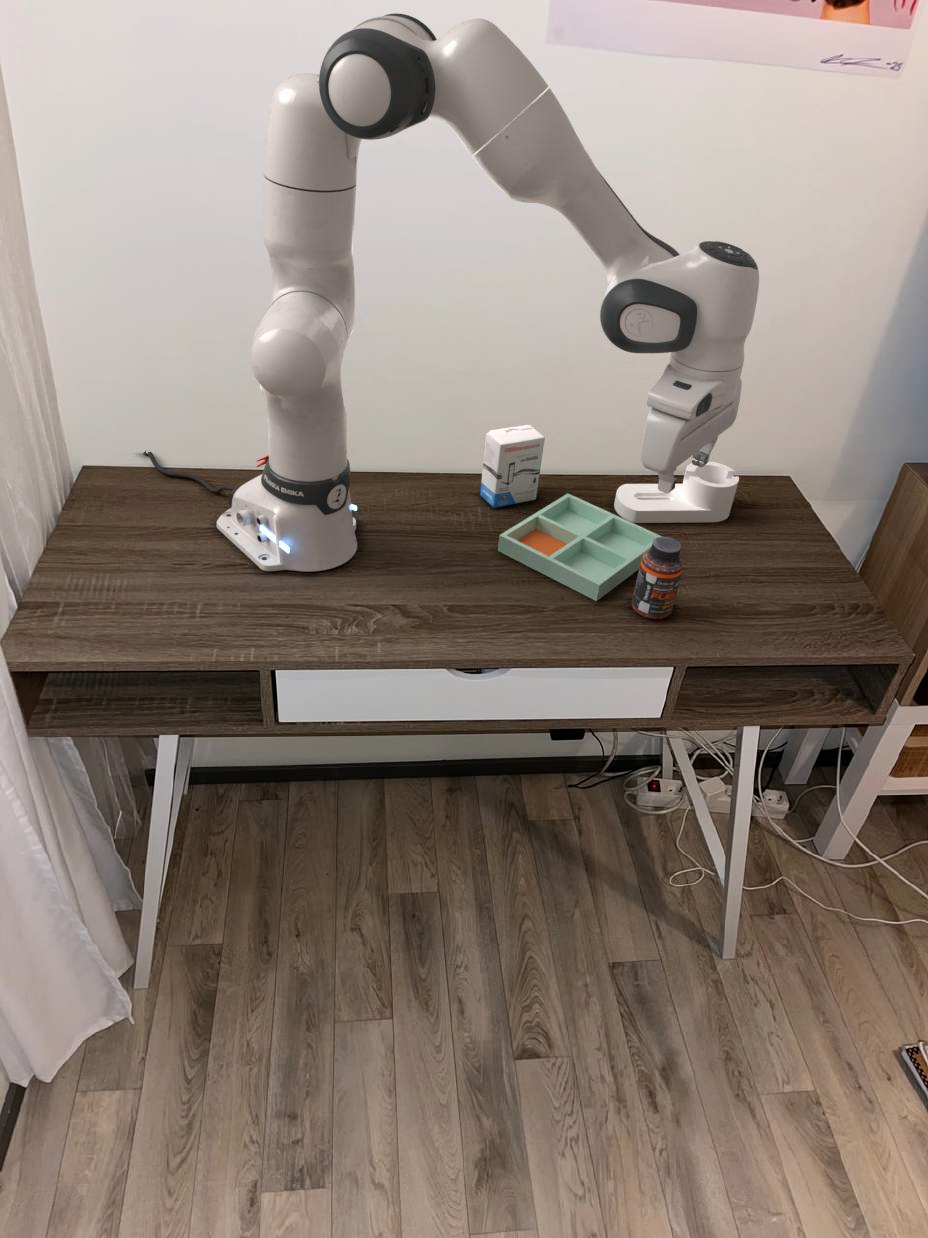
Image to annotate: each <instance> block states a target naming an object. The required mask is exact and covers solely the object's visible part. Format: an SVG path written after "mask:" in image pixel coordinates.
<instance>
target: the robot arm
mask: <svg viewBox="0 0 928 1238" xmlns="http://www.w3.org/2000/svg"><path fill="white" fill-rule="evenodd" d="M429 117H431V118H435V119H438V120H439V121H441V122H443V123H444V124H445V125H446V126H447V127H449V129H451V131H452V132H453V133H454V135H455V136H456V137H457V139H459V141H460V142H461V143H462V145H463V146H464V148H465V149H466V151H467V152H468V154H470V156H471V157H472V159H473V160H474V161H475V163H476V164H477V165H478V166H479V168H480V169H481V170H482V172H483V173H484V175H486V177H487V178H489V180H490V181H491V182H492V183H493V184H494V185H495V186H496V187H497V188H498V189H499V190H500V191H502V192H503V194H505V195H506V196H507V197H508V198H510V199H511V200H513V201H516V202H520V203H526V204H539V205H544V206H547V207H549V208H551V209H554V210H555V211H557V212H559V213H560V214H561V215H562V216H563V217H565V219H566V220H567V222H569V223H570V224H571V226H572V227H573V228H574V230H575V231H576V232H577V233H578V235H579V236H580V237H581V238H582V240H583V241H584V242H585V243H586V245H587V247H589V249H590V250H591V251H592V252H593V254H594V255H595V256H596V258H598V260H599V261H600V263H601V264H602V267H603V270H604V273H605V276H606V282H607V286H606V289H605V292H604V295H603V298H602V303H601V305H600V311H599V313H600V314H599V317H600V318H599V320H600V326H601V329H602V331H603V333H604V335H605V336H606V338H607V340H609V342H610V343H611V344H612V345H613V346H615V347H616V348H618V349H620V350H622V351H625V352H627V353H632V354H668V353H670V357H669V363H667V364H666V366H665V368H664V371H663V372H662V374H661V375H660V377H659V378H658V380H657V381H656V382H655V383H654V384H653V385H652V387H651V388H650V389H649V391H648V393H647V396H646V405H647V406H648V407H650V408H651V409H650V410H649V412H648V414H647V417H646V420H645V424H644V429H643V434H642V443H641V453H640V461H641V464H642V466H643V467H644V468H645V469H648V470H650V471H652V472H654V473H657V476H658V483H657V484H658V490H659V491H661V492H664V493H666V494H668V493H670V492H671V491H672V490H673V489H674V488H675V484H677V481H678V480H677V479H678V477H677V478H676V477H675V472H676V471H677V468H678V467H679V466H680V465H682V464H683V463H684V462H685V461H687V460H688V459H690V458H691V457H692V459H691V463H692V464H693V465H695V466H698V467H703V466H704V465H706V464H707V463H708V461H710V456H711V453H712V451H713V449H714V447H715V446H716V443H717V441H718V439H719V436H720V435H721V434H723V433H724V432H725V431H727V430H728V429H729V428H731V427H732V426H733V425H734V422H735V421H736V419H737V417H738V411H739V407H740V400H741V394H742V385H743V383H742V382H743V381H742V378H741V376H742V373H743V367H744V362H745V343H746V340H747V338H748V336H749V334H750V332H751V329H752V327H753V323H754V319H755V315H756V309H757V302H758V297H759V288H760V270H759V266H758V264H757V262H756V260H755V259H754V258H753V257H752V256H751V254H750V253H748V252H747V251H745V250H744V249H742V248H741V247H739V246H736V245H733V244H731V243H729V242H728V243H727V242H724V241H718V240H715V241H713V240H712V241H711V240H706V241H705V240H704V241H702V242H699V243H698V244H696V246H695V247H693V248H691V249H689V250H687V251H685V252H683V253H679V252H678V251H677V250H676V249H675V248H674V247H673V246H671V245H670V244H668V243H667V242H664V241H663V240H661V239H660V238H658V237H656V236H654V235H653V234H651V233H650V232H648V231H647V230H646V229H645V228H644V227H643V226H641V224H640V223H639V222H638V221H637V220H636V218H635V217H634V215H633V214H632V213H631V212H630V211H629V209H628V208H627V207H626V205H625V204H624V203H623V201H622V200H621V198H620V196H618V194H617V193H616V192H615V190H614V189H613V187H611V185H610V184H609V182H607V180H606V179H605V178H604V176H603V175H602V174H601V172H600V171H599V169H598V167H596V165H595V163H594V162H593V159H592V158H591V156H590V155H589V153H588V151H587V149H586V147H585V146H584V144H583V142H582V139H581V138H580V136H579V134H578V132H577V130H576V128H575V127H574V124H573V123H572V120H571V119H570V118H569V116H568V114H567V113H566V111H565V109H564V108H563V105H562V103H560V101H559V99H558V98H557V96H556V95H555V94H554V92H553V91H552V89H551V87H549V85H548V83H547V82H546V81H545V79H544V78H543V76H542V75H541V74H540V72H539V71H538V70H537V68H536V67H535V66H534V65H533V64H532V62H531V61H530V60H529V58H528V57H527V56H526V55H525V54H524V53H523V51H522V50H521V49H520V48H519V47H518V46H517V45H516V44H515V43H514V41H512V40H511V39H510V38H509V37H508V35H507V34H505V33H504V32H503V31H502V30H501V29H500V28H499V27H498V26H497V25H496V24H494V23H493V22H492V21H490V20H487V19H485V18H472V19H468V20H465V21H462V22H460V23H458V24H456V25H455V26H453V27H452V28H450V29H449V30H448V31H447V32H445V34H443V35H442V36H441V37H439V38H437V37H436V35H435V34H434V32H433V31H432V30H431V29H430V27H428V25H426V24H425V23H424V22H423V21H421V20H419V18H416V17H414V16H412V15H409V14H405V13H399V12H397V13H395V12H394V13H388V14H385V15H381V16H376V17H372V18H369V19H366V20H364V21H362V22H359V24H357V25H355V27H354V28H352V29H351V30H349V31H348V32H345V33H343V34H342V35H340V36H339V37H338V38H337V39H336V40H334V41H333V43H332V44H331V46H330V47H329V48H328V50H327V52H326V53H325V55H324V57H323V60H322V62H321V66H320V70H319V73H311V72H310V73H308V72H306V73H305V72H304V73H298V74H295V75H291V76H289V77H287V78H285V79H284V80H282V81H281V82H279V84H278V85H277V86H276V87H275V89H274V91H273V93H272V97H271V101H270V106H269V111H268V116H267V124H266V129H265V139H264V153H263V154H264V155H263V235H262V237H263V243H264V246H265V248H266V250H267V253H268V260H269V265H270V270H271V280H272V281H271V282H272V293H271V299H270V303H269V307H268V310H267V311H266V312H265V314H264V316H263V317H262V319H261V320H260V321H259V323H258V325H257V326H256V329H255V331H254V334H253V338H252V342H251V343H252V344H251V351H250V365H251V369H252V370H251V371H252V373H253V375H254V377H255V380H256V381H257V382H258V384H259V388H260V392H261V395H262V399H263V403H264V408H265V415H266V425H267V427H266V428H267V447H268V454H267V455H265V456H263V457H260V458H258V459H256V460H255V462H257V464H256V465H255V466H256V468H259V467H261V466H264V468H263V471H262V473H261V474H259V475H257V476H256V477H254V478H252V479H250V480H249V481H246V482H245V483H243V484H242V485H240V486H239V487H234V486H231V485H220V486H219V487H217V488H214V487H213V486H211V485H210V484H209V483H208V482H206V481H205V480H204V479H203V478H201V477H200V476H197V475H194V474H191V473H185V472H177V471H171V470H167V469H164V468H163V467H161V465H159V463H158V461H157V459H156V458H155V455H154V454H153V452H152V451H151V452H148V454H147V453H146V451H147V450H145V451H144V452H143V453H142V455H143V456H148V457H149V460H150V461H151V463H152V465H153V467H154V468H155V469H157V471H158V472H159V473H161V474H163V475H166V476H170V477H175V478H182V479H183V478H184V479H189V480H193V481H195V482H198V483H199V484H201V485H202V486H203V487H205V488H206V489H207V490H208V491H209V492H211V493H214V494H220V493H222V492H223V491H228V501H229V507H230V508H229V509H226V511H224V512H223V513H221V514H220V516H219V517H218V518H217V520H216V528H217V530H218V531H219V532H220V533H221V534H222V535H224V536H225V537H226V538H227V539H228V540H229V541H230V542H231V543H232V544H233V545H235V547H236V548H238V549H239V550H240V551H241V552H242V553H243V554H244V555H245V556H246V557H247V558H248V559H250V560H251V562H253V564H255V566H257V567H258V568H259V569H260V570H262V571H263V572H279V571H295V572H306V573H307V572H310V573H311V572H321V571H327V570H331V569H334V568H336V567H339V566H342V565H343V564H345V563H347V562H348V561H350V560H351V559H352V558H353V557H354V556H355V554H356V552H357V549H358V540H357V537H356V536H357V535H356V530H357V520H356V518H355V517H353V516H354V515H353V511H356V512H357V510H358V506H357V505H355V504H353V503H352V497H351V489H350V487H351V474H352V473H351V465H350V464H351V463H350V460H349V459H348V410H347V409H346V406H345V401H344V397H343V389H342V364H343V359H344V354H345V352H346V348H347V346H348V344H349V342H350V339H351V337H352V335H353V332H354V329H355V323H356V321H355V320H356V284H355V283H356V281H355V279H356V278H355V265H354V232H355V215H356V199H357V198H356V197H357V179H358V159H359V151H360V146H361V142H362V140H367V141H368V140H369V141H373V140H375V141H376V140H381V139H387V138H389V137H392V136H394V135H397V134H399V133H400V132H402V131H405V130H407V129H409V128H411V127H413V126H416V125H418V124H421V123H423V122H425V121H426V120H428V118H429Z"/></svg>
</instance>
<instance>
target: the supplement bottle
mask: <svg viewBox="0 0 928 1238" xmlns="http://www.w3.org/2000/svg"><path fill="white" fill-rule="evenodd" d="M681 551H682V545H681V543H680V542H679V541H678V540H676V539H675V538H673V537H669V536H668V537H667V536H662V537H658V538H656V539H654V540H653V543H652V546H651V549H649V550H647V551H646V552H645V553H644V554H643V556H642V559H641V563H640V567H639V569H638V571H637V576H636V581H635V585H634V589H633V592H632V593H633V594H632V598H631V599H632V600H631V608H632V610H633V611H634V612H635V613H637V615H639V616H641V617H643V618H646V619H648V620H662V619H663V620H664V619H665V618H667V617H669V616H670V614H672V612H673V608H674V604H675V602H676V601H677V600H676V596H677V593H678V589H679V586H680V582H681V579H682V578H681V577H682V574H683V571H684V565H685V563H684V560H683V558H682V556H681Z"/></svg>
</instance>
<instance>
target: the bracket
mask: <svg viewBox="0 0 928 1238" xmlns="http://www.w3.org/2000/svg"><path fill="white" fill-rule="evenodd" d="M735 473H736V470H734V469H733V468H732V467H730V466H728V465H725V464H722V463H719V462H715V461H710V460H709V461H708V463H707V464H706V465H704V466H703V467H698V466H695V465H693V464H692V462H691V463H689V464H688V465H687V466H686V468H685V472H684V476H683V480H682V483H676V484H675V488H674V489H673V490H672V491H671V492H670V493H668V494H666V493H664V492H661V491H659V490H658V483H624V484H622V485H620V486H619V487H618V488H617V490H616V492H615V498H614V503H613V508H614V510H615V512H616V513H617V514H618V515H619V517H621V518H623V519H625V520H627V521H629V522H631V523H634V524H670V523H672V524H673V523H674V524H676V523H677V524H678V523H681V524H682V523H683V524H684V523H719V522H723V521H725V520H727V519H728V518H729V516H730V514H731V509H732V506H733V502H734V499H735V496H736V492H737V488H738V484H739V481H740V476H739V475H738V476H735Z"/></svg>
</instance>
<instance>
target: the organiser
mask: <svg viewBox="0 0 928 1238" xmlns="http://www.w3.org/2000/svg"><path fill="white" fill-rule="evenodd" d="M658 537H663V536H662V535H659V534H657V533H655V532H654V531H651V530H650V529H647V528H644V527H643V526H640V525H638V524H637V523H634V522H631V521H628V520H626V519H624V518H623V517H621V516H618V515H616V514H614V513H612V512H610V511H608V510H605V509H603V508H601V507H599V506H597V505H594V504H592V503H590V502H588V501H585V500H584V499H581V498H579V497H577V496H574V495H572V494H570V493H565V494H564V495H563V496H561V497H559V498H558V499H556V500H554V501H553V502H551V503H550V504H548V505H546V506H545V507H543V508H542V509H539V510H538V511H536V512H535V513H533V514H532V515H530V516H528V517H527V518H525V519H524V520H521V521H520V522H518V523H517V524H515V525H514V526H511V527H510V528H509V529H507V530H506V531H504V532H502V533H501V534H499V536H498V544H497V552H499V553H501V554H503V555H505V556H507V557H509V558H511V559H513V560H515V561H518V562H519V563H520V564H523V565H525V566H527V567H528V568H530V569H532V570H535V571H536V572H538V573H541V574H542V575H545V576H546V577H548V578H550V579H552V580H554V581H555V582H558V583H560V584H562V585H564V586H566V587H568V588H570V589H571V590H573V591H575V592H578V593H579V594H582V595H583V596H586V597H587V598H589V599H591V600H593V601H595V602H597V601H599V600H600V599H602V598H603V597H604V596H606V595H607V594H608V593H610V592H611V591H612V590H613V589H615V588H616V587H618V586H619V585H620V584H621V583H622V582H624V581H625V580H627V579H628V578H629V577H630V576H632V575H633V574H634V573H636V572H638V571H639V567H640V563H641V559H642V556H643V554H644V553H645V552H646V551H647V550H649V549H651V546H652V543H653V540H654V539H656V538H658Z"/></svg>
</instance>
